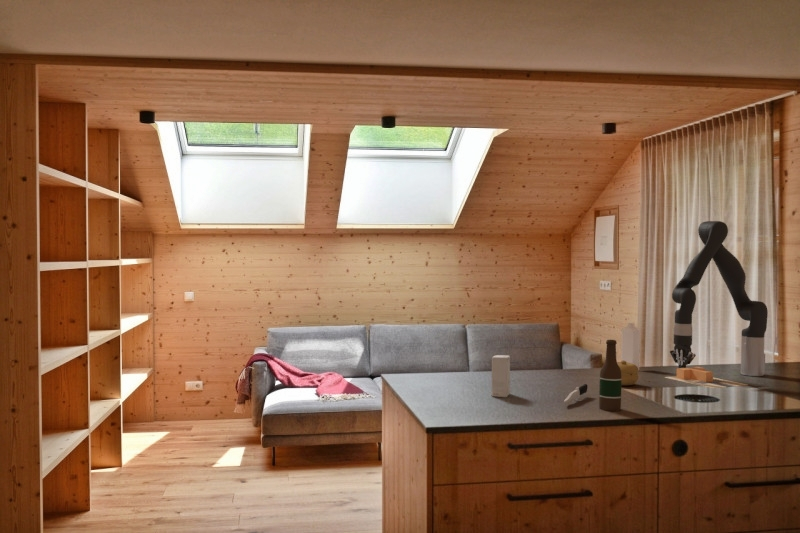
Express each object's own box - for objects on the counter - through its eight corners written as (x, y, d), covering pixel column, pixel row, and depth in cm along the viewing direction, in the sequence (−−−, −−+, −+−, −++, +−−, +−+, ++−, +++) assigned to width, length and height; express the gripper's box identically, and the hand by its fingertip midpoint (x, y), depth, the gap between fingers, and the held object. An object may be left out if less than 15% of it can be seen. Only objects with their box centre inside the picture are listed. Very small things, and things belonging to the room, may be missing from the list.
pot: (626, 381, 304) (627, 357, 304) (644, 386, 293) (644, 362, 293) (602, 382, 301) (603, 358, 301) (619, 388, 290) (619, 363, 289)
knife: (565, 408, 251) (566, 394, 251) (561, 407, 252) (561, 393, 252) (588, 396, 272) (588, 383, 272) (583, 395, 273) (583, 382, 273)
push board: (698, 376, 318) (698, 374, 318) (748, 387, 295) (749, 384, 295) (664, 379, 310) (664, 377, 310) (713, 390, 286) (713, 388, 286)
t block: (697, 376, 314) (697, 366, 314) (719, 380, 303) (720, 371, 303) (676, 377, 309) (676, 368, 309) (698, 382, 298) (698, 373, 298)
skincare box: (506, 397, 268) (507, 357, 267) (490, 396, 270) (491, 356, 269) (510, 393, 276) (511, 354, 275) (494, 392, 278) (495, 353, 277)
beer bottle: (595, 406, 255) (596, 338, 254) (616, 406, 255) (618, 338, 255) (603, 411, 247) (604, 341, 246) (625, 411, 248) (626, 341, 247)
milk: (639, 371, 332) (640, 323, 331) (632, 372, 328) (633, 323, 327) (627, 369, 336) (628, 321, 336) (620, 370, 332) (621, 322, 331)
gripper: (701, 335, 309) (700, 375, 309) (678, 331, 321) (677, 370, 322) (688, 335, 306) (687, 376, 306) (665, 332, 318) (664, 371, 319)
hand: (682, 373), depth 314 cm, fingers closed
